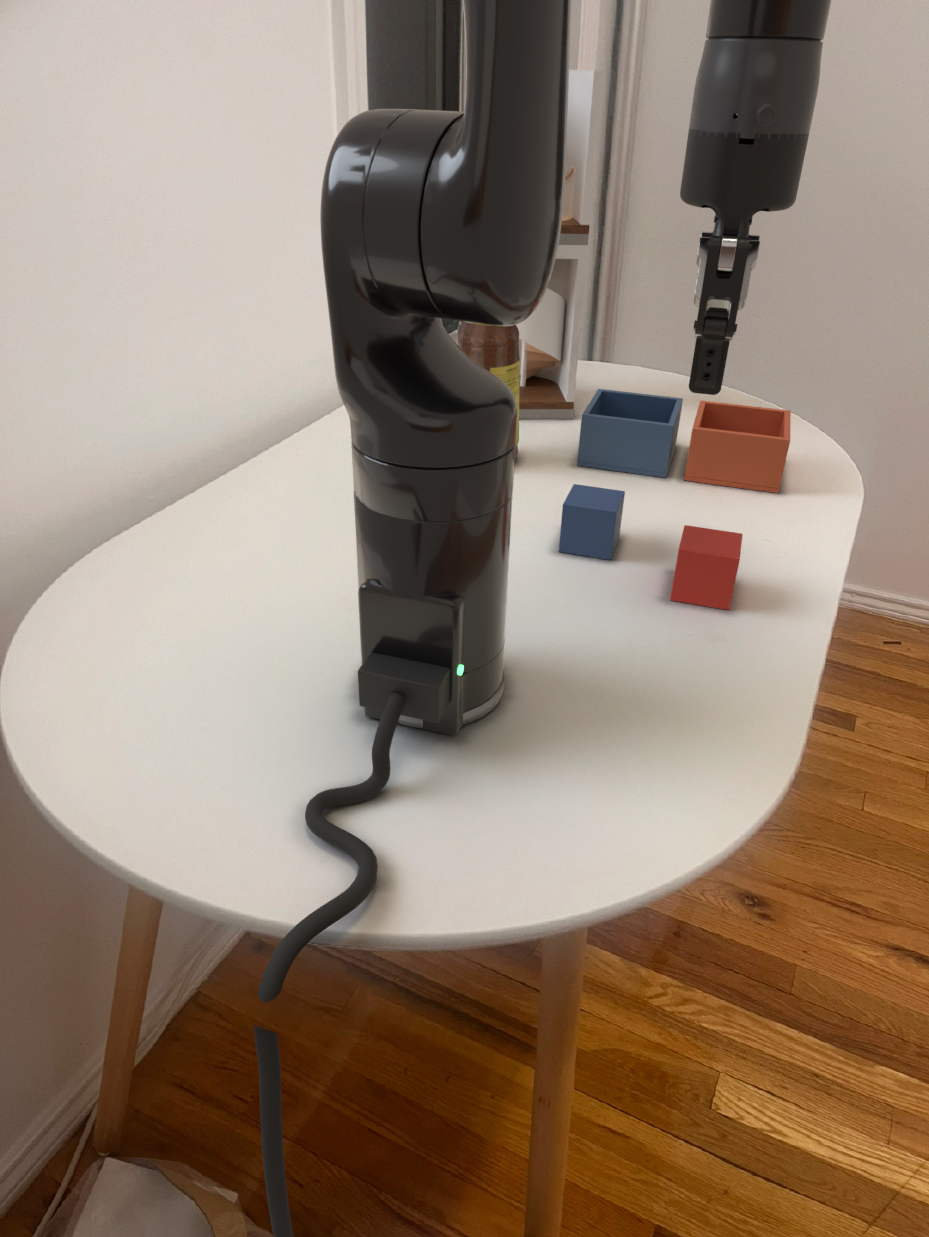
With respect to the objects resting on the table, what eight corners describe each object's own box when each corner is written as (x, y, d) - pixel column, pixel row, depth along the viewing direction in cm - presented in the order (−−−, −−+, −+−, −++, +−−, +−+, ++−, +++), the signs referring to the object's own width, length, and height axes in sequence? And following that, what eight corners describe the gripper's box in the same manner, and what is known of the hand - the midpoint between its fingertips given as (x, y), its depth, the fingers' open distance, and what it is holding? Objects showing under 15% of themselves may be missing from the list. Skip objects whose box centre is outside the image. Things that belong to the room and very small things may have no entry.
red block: (729, 610, 68) (739, 558, 65) (669, 600, 69) (678, 549, 67) (732, 583, 71) (742, 533, 69) (676, 574, 73) (684, 524, 70)
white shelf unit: (476, 388, 113) (484, 67, 95) (558, 388, 114) (582, 70, 95) (483, 418, 104) (494, 68, 85) (572, 418, 104) (603, 70, 86)
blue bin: (665, 478, 90) (673, 426, 87) (576, 465, 92) (581, 414, 89) (675, 447, 97) (683, 398, 94) (593, 436, 99) (598, 388, 96)
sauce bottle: (519, 449, 96) (530, 254, 85) (516, 471, 90) (527, 266, 80) (459, 446, 96) (462, 251, 85) (452, 468, 91) (455, 263, 80)
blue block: (610, 560, 74) (616, 511, 72) (558, 552, 75) (562, 503, 73) (619, 537, 78) (625, 490, 76) (569, 530, 79) (573, 483, 77)
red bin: (778, 493, 87) (790, 440, 84) (683, 480, 89) (692, 428, 86) (779, 460, 94) (790, 410, 92) (692, 449, 97) (700, 400, 94)
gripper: (695, 118, 63) (663, 347, 72) (682, 127, 52) (645, 399, 60) (805, 122, 62) (759, 355, 70) (816, 132, 50) (759, 411, 58)
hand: (706, 375), depth 65 cm, fingers open, 8 cm apart
